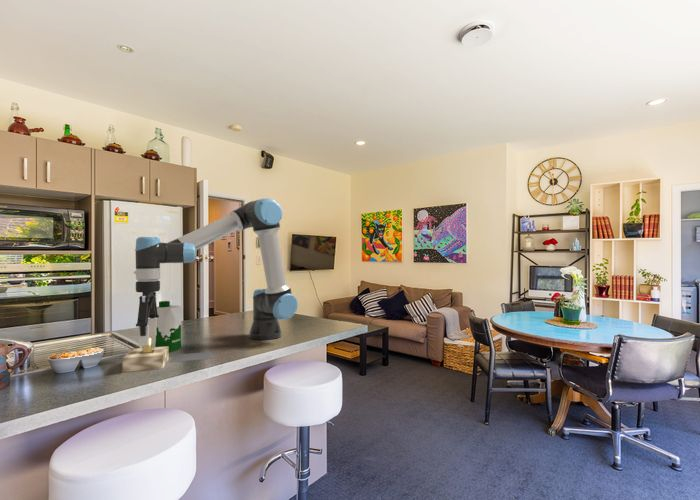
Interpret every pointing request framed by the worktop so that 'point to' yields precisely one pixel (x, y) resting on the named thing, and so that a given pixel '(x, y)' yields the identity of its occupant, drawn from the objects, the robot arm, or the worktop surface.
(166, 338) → the milk carton
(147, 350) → the brass pin
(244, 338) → the worktop surface
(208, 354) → the mat
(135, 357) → the hole block
